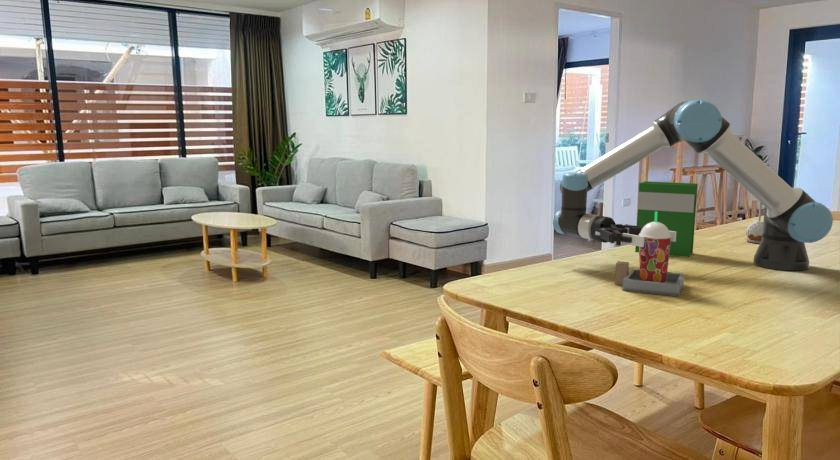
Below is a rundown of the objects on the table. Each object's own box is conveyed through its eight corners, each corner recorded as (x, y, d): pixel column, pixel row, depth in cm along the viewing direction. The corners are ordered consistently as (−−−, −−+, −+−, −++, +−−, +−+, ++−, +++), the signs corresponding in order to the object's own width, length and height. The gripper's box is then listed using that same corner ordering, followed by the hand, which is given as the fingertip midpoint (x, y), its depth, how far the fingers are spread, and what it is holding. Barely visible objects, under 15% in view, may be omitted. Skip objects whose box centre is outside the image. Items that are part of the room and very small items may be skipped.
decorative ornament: (765, 240, 242) (769, 201, 240) (771, 244, 235) (775, 204, 232) (743, 240, 244) (746, 201, 242) (748, 243, 237) (752, 203, 234)
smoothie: (668, 281, 177) (672, 210, 174) (669, 289, 169) (673, 214, 166) (636, 279, 180) (639, 209, 176) (636, 287, 172) (639, 213, 169)
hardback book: (692, 253, 220) (697, 183, 216) (690, 257, 213) (695, 185, 209) (639, 248, 228) (643, 181, 224) (635, 252, 222) (639, 183, 218)
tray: (683, 284, 178) (685, 263, 177) (678, 296, 165) (680, 274, 164) (620, 277, 185) (621, 257, 184) (611, 289, 173) (612, 267, 172)
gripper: (625, 236, 196) (686, 247, 179) (567, 245, 183) (628, 258, 165) (626, 212, 195) (688, 221, 177) (568, 219, 181) (629, 229, 164)
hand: (659, 239), depth 171 cm, fingers open, 13 cm apart
